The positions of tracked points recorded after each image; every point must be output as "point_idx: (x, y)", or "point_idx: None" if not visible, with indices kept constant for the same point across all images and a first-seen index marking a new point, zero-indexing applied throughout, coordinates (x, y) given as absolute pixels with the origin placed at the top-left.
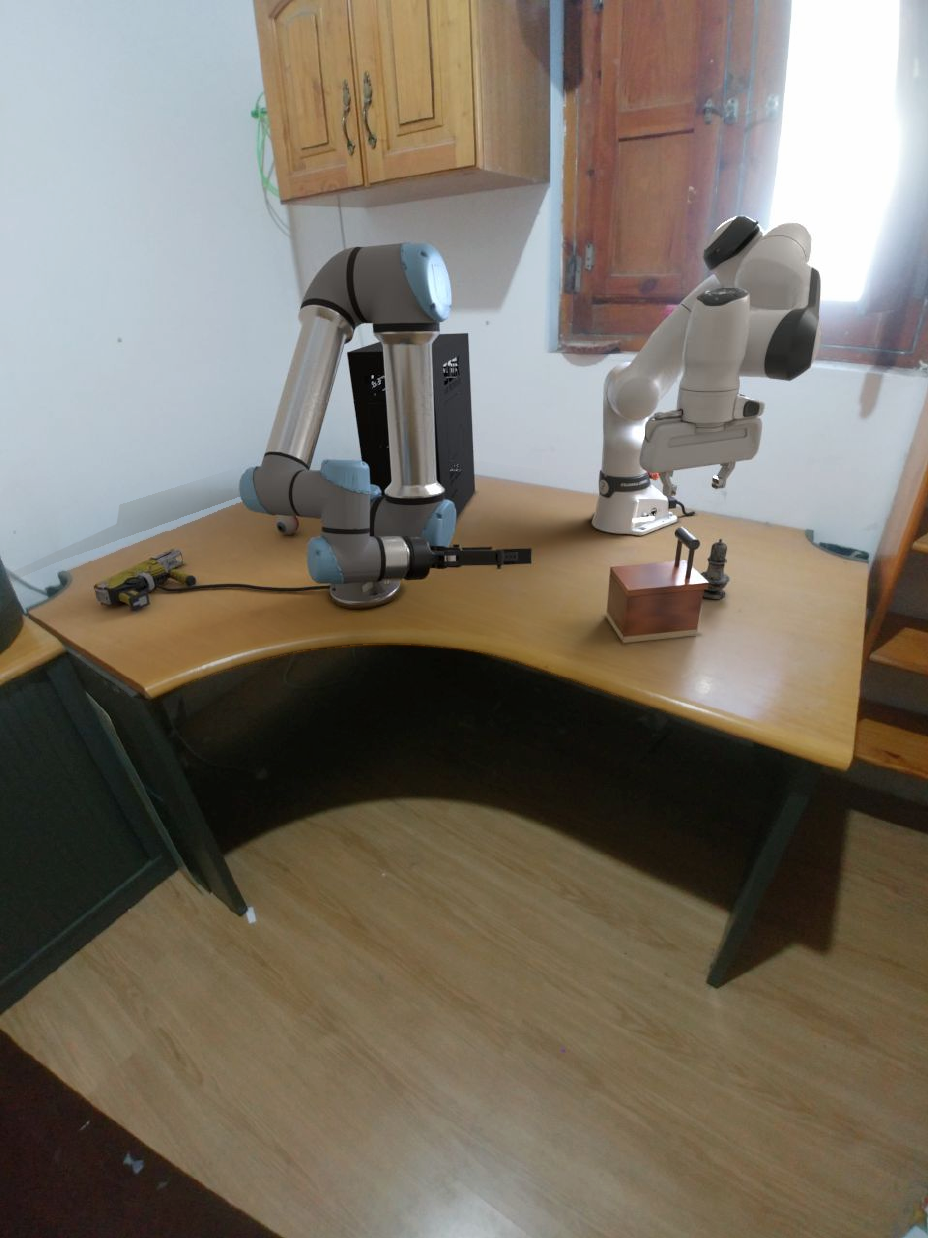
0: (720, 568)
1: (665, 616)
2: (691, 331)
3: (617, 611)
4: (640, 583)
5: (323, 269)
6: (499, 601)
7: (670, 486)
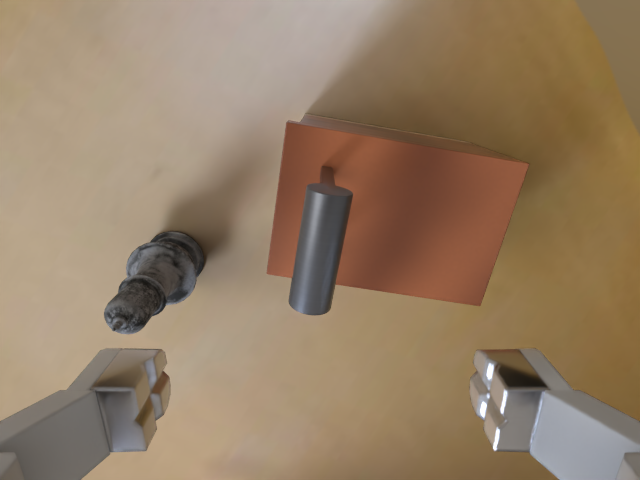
0: (147, 271)
1: (390, 132)
2: None
3: None
4: (471, 189)
5: None
6: (590, 369)
7: (564, 391)
